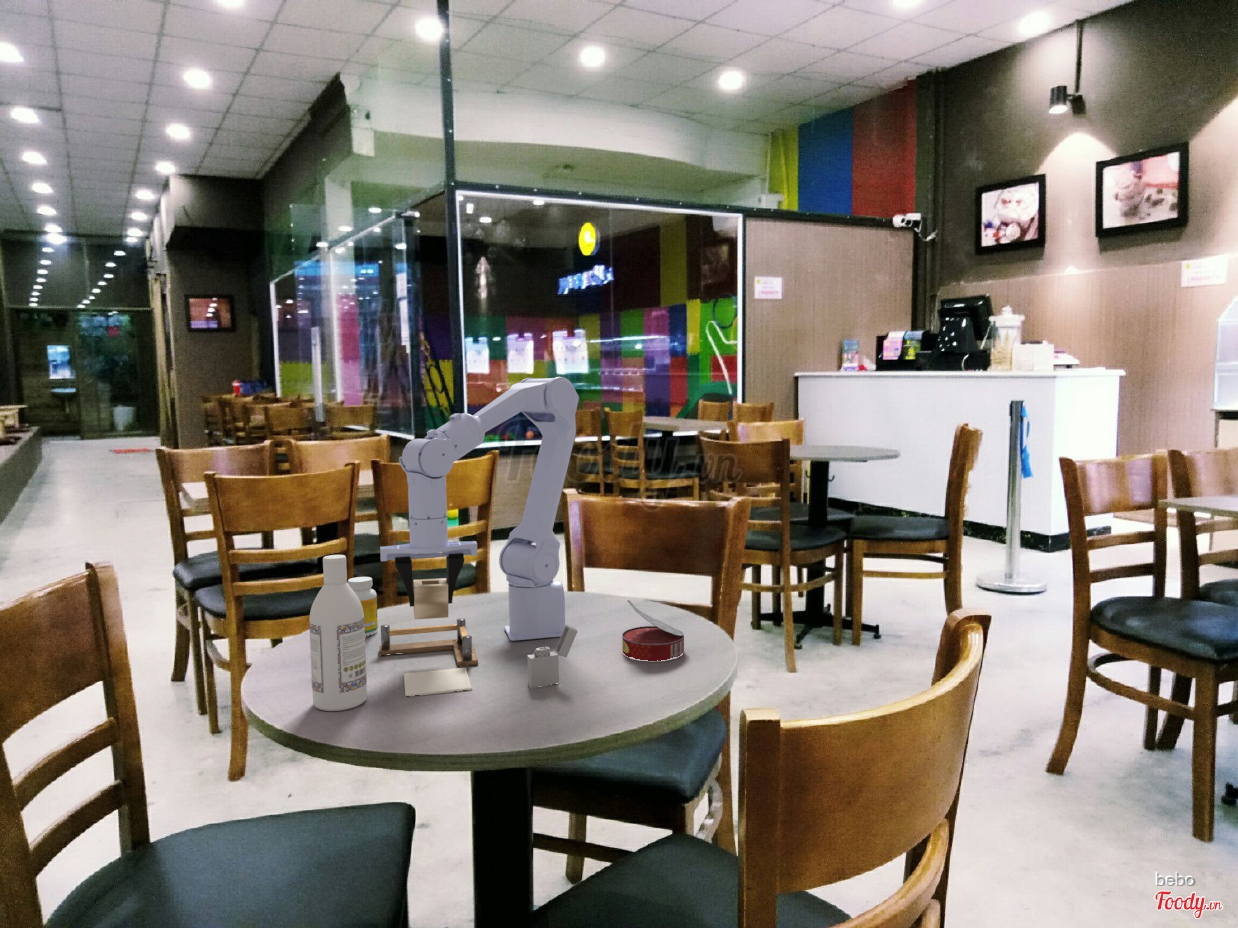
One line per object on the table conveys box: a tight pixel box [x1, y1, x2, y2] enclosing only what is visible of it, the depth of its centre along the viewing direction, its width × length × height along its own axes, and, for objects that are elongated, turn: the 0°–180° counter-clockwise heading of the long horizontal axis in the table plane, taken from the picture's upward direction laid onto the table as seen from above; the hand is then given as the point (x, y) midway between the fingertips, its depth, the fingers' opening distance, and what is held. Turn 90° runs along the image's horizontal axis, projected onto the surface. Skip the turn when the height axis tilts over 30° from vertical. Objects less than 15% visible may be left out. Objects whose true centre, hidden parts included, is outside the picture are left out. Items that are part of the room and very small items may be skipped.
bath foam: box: [308, 554, 368, 712], centre depth 112 cm, size 7×7×20 cm
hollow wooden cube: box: [412, 577, 449, 620], centre depth 129 cm, size 5×5×5 cm
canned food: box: [621, 599, 685, 661], centre depth 133 cm, size 11×10×10 cm
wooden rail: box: [378, 618, 479, 668], centre depth 131 cm, size 14×12×4 cm
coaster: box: [403, 667, 473, 698], centre depth 120 cm, size 9×9×1 cm
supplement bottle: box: [347, 576, 379, 637], centre depth 144 cm, size 5×5×10 cm
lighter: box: [526, 624, 578, 689], centre depth 119 cm, size 7×2×8 cm, turn 113°
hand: (430, 603), depth 129 cm, fingers closed on hollow wooden cube, 5 cm apart
